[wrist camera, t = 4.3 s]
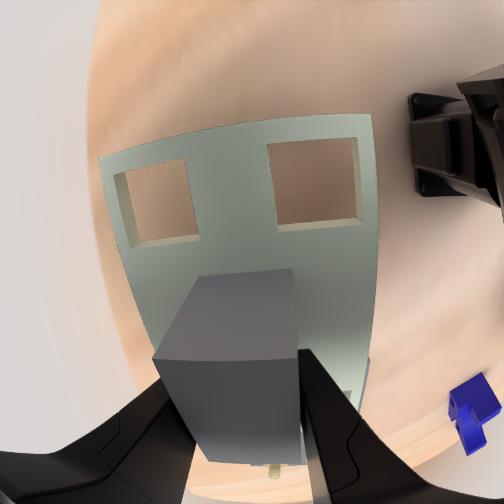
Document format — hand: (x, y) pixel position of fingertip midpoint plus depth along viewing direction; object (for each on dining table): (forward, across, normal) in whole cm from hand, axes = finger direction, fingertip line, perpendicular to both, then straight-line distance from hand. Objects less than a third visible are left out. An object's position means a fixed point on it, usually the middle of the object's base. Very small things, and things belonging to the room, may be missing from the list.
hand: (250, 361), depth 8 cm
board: (+2, 0, 0) cm, 2 cm away
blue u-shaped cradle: (+10, -23, +23) cm, 34 cm away
